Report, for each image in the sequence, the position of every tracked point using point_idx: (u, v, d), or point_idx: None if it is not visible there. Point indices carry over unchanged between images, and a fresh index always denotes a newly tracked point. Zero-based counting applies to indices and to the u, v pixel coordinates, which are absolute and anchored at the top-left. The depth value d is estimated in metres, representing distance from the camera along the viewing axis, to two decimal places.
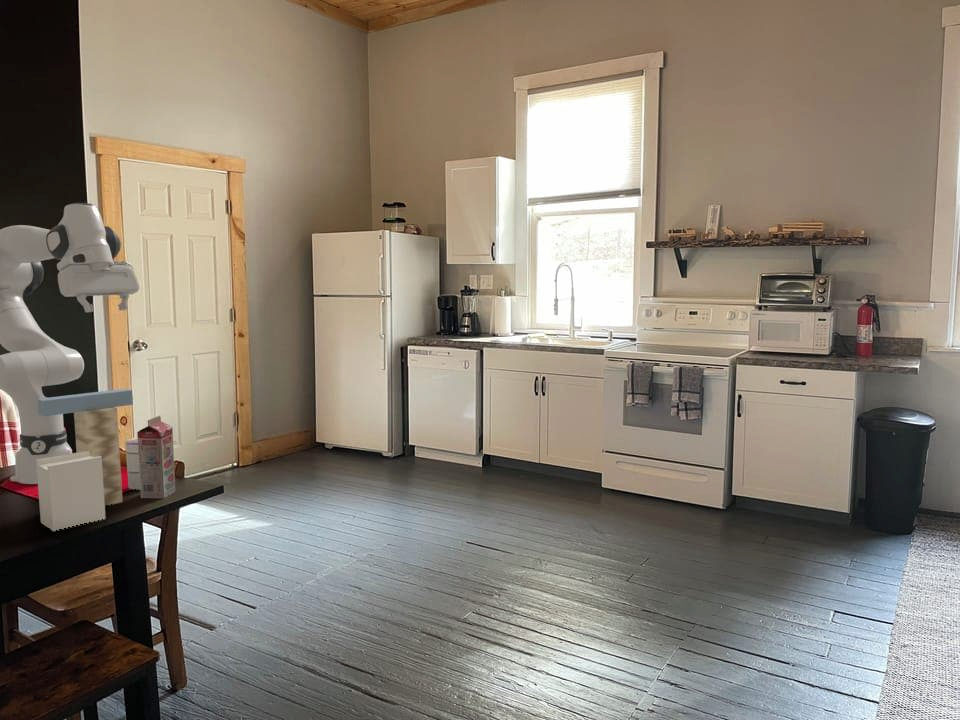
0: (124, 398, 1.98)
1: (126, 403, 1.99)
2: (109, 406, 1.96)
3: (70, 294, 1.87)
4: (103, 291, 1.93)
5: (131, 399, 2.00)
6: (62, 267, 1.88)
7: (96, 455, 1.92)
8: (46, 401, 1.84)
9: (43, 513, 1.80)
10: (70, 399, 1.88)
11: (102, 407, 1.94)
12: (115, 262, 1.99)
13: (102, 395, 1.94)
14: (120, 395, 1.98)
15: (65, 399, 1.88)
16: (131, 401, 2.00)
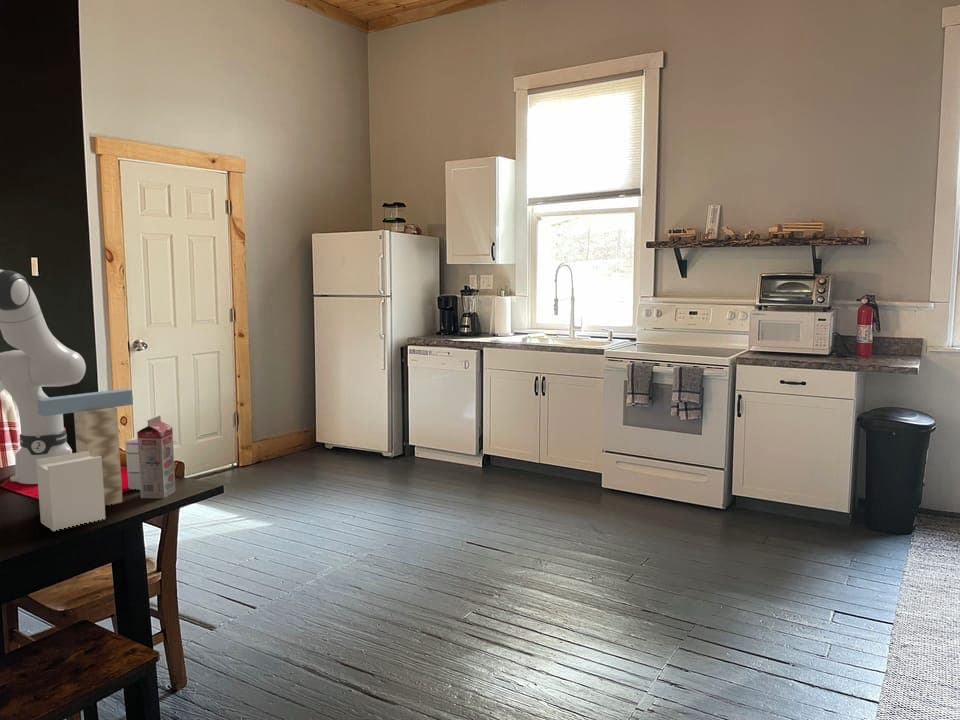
0: (124, 398, 1.98)
1: (126, 403, 1.99)
2: (109, 406, 1.96)
3: None
4: None
5: (131, 399, 2.00)
6: None
7: (96, 455, 1.92)
8: (46, 401, 1.84)
9: (43, 513, 1.80)
10: (70, 399, 1.88)
11: (102, 407, 1.94)
12: None
13: (102, 395, 1.94)
14: (120, 395, 1.98)
15: (65, 399, 1.88)
16: (131, 401, 2.00)
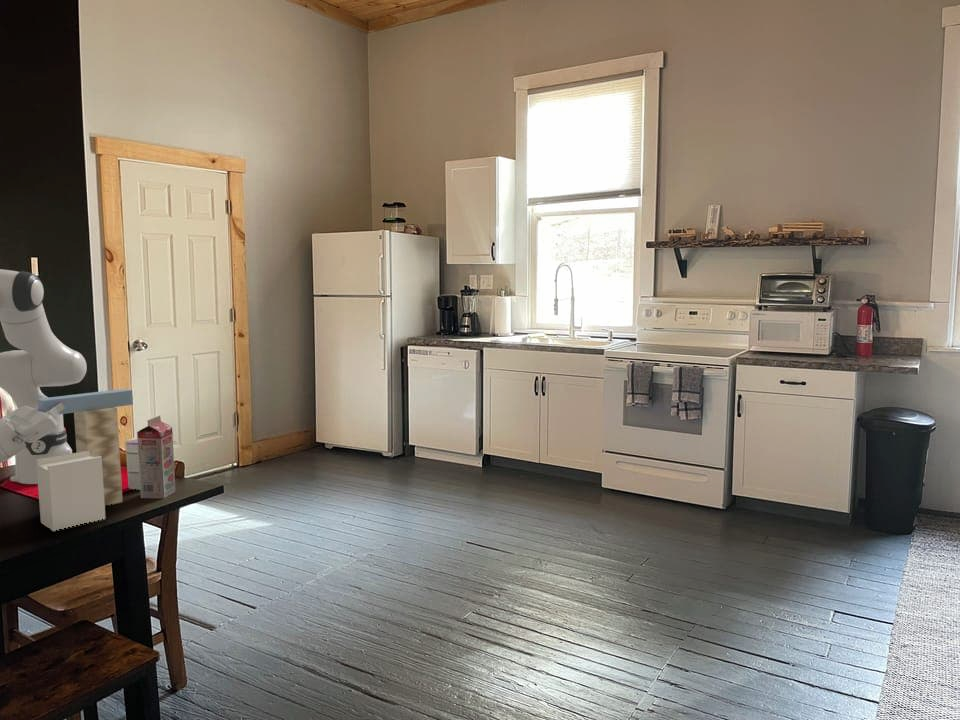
0: (124, 398, 1.98)
1: (126, 403, 1.99)
2: (109, 406, 1.96)
3: None
4: None
5: (131, 399, 2.00)
6: None
7: (96, 455, 1.92)
8: (46, 401, 1.84)
9: (43, 513, 1.80)
10: (70, 399, 1.88)
11: (102, 407, 1.94)
12: None
13: (102, 395, 1.94)
14: (120, 395, 1.98)
15: (65, 399, 1.88)
16: (131, 401, 2.00)
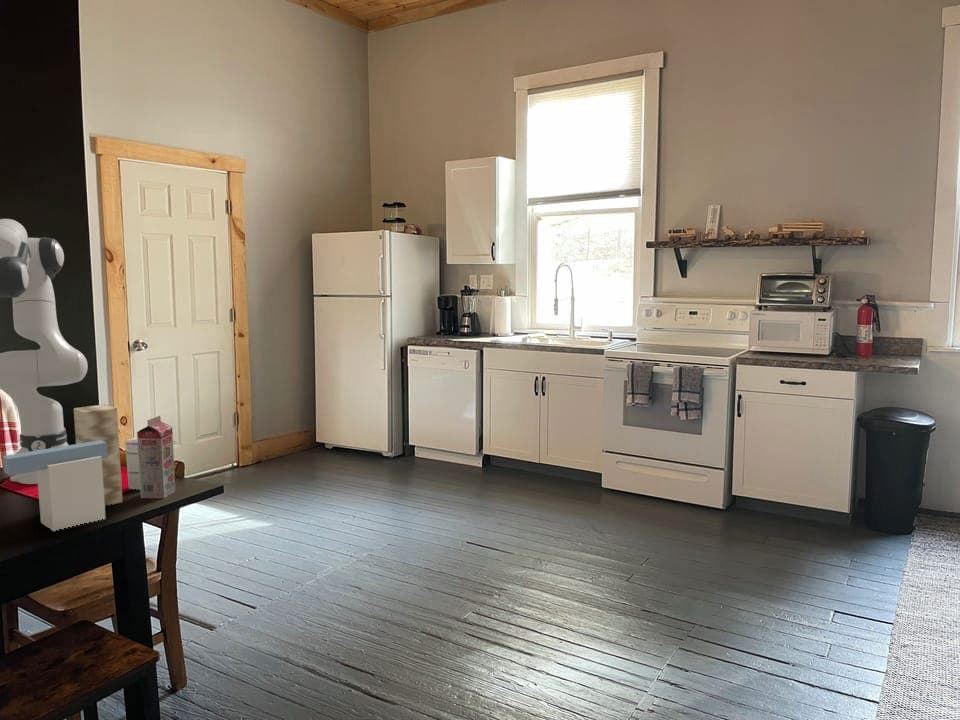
0: (98, 451, 1.85)
1: None
2: None
3: None
4: None
5: (106, 452, 1.86)
6: None
7: None
8: (12, 459, 1.71)
9: (43, 513, 1.80)
10: (38, 455, 1.75)
11: None
12: None
13: (74, 449, 1.81)
14: (94, 449, 1.84)
15: (33, 456, 1.74)
16: (106, 454, 1.86)
